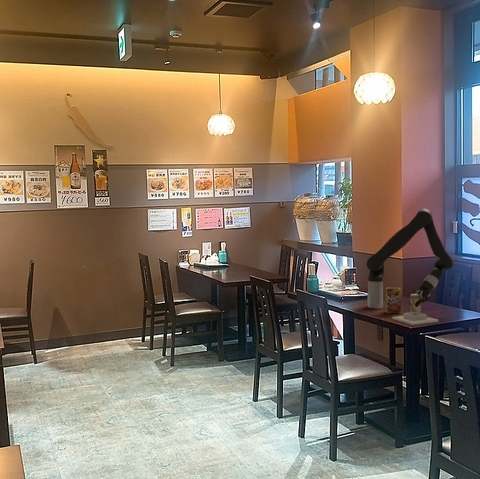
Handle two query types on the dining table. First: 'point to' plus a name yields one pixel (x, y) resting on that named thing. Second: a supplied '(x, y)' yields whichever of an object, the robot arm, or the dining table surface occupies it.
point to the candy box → (393, 300)
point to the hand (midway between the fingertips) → (413, 305)
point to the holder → (415, 318)
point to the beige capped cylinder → (413, 300)
